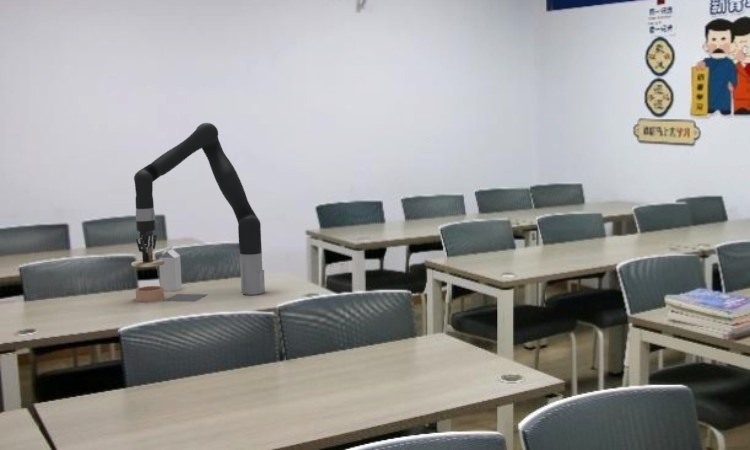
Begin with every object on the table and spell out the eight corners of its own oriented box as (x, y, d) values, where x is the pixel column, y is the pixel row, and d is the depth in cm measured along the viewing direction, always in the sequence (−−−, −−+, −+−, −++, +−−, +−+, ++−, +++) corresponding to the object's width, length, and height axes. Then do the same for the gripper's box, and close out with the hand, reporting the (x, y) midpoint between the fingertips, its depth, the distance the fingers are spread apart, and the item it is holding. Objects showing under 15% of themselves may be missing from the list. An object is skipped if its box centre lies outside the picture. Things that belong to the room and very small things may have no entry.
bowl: (168, 297, 345) (167, 286, 344) (156, 303, 334) (155, 291, 334) (144, 297, 347) (143, 285, 346) (131, 303, 336) (130, 291, 336)
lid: (169, 261, 344) (168, 245, 343) (155, 267, 331) (154, 250, 330) (140, 261, 346) (139, 245, 346) (125, 267, 334) (124, 249, 333)
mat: (208, 295, 347) (208, 294, 347) (194, 303, 334) (194, 301, 333) (177, 295, 350) (177, 293, 350) (162, 302, 336) (162, 300, 336)
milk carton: (182, 289, 363) (179, 246, 361) (176, 292, 356) (174, 248, 354) (166, 289, 364) (164, 246, 362) (160, 292, 357) (158, 249, 355)
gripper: (145, 221, 329) (148, 264, 331) (161, 217, 343) (164, 258, 345) (128, 221, 330) (131, 263, 333) (145, 217, 344) (147, 258, 346)
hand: (147, 260), depth 339 cm, fingers closed on lid, 3 cm apart
